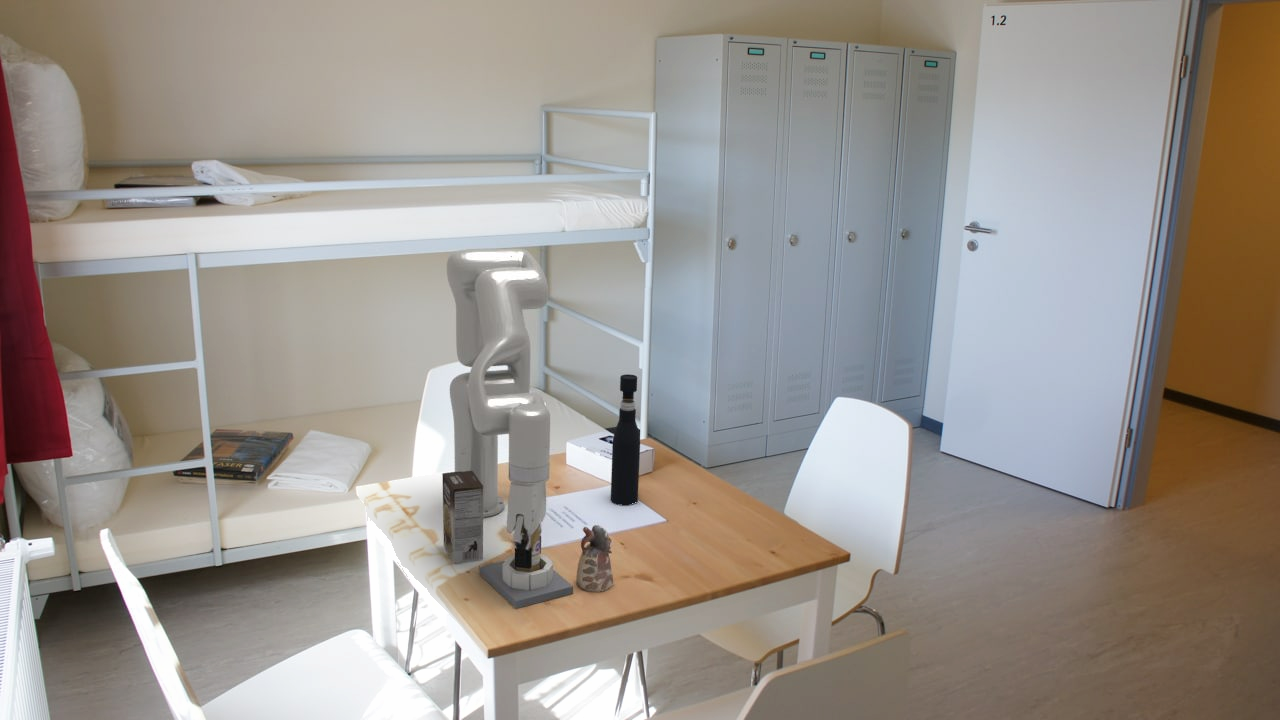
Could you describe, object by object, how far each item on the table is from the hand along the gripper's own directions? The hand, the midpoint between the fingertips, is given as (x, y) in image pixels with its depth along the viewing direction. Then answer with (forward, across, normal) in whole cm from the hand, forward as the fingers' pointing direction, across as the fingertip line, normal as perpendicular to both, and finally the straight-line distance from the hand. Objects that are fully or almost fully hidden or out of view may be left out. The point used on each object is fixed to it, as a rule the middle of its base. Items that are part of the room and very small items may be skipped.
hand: (527, 559), depth 190 cm
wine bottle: (+6, -47, +9) cm, 48 cm away
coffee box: (+6, -10, -17) cm, 20 cm away
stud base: (+5, 0, 0) cm, 5 cm away
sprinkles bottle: (+4, 0, 0) cm, 4 cm away
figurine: (+6, -4, +12) cm, 14 cm away
